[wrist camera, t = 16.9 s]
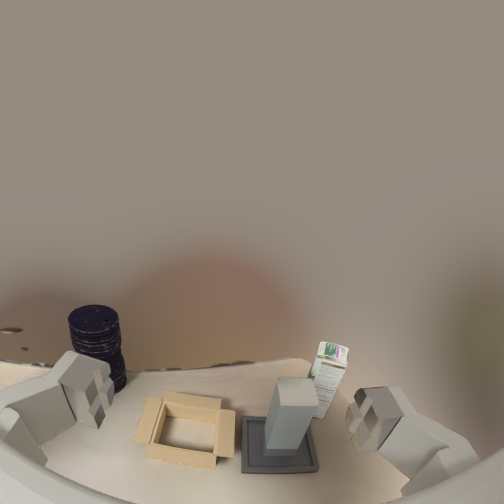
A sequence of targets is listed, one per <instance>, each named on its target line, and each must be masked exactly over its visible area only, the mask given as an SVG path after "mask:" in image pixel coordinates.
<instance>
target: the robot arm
mask: <svg viewBox="0 0 504 504" xmlns="http://www.w3.org/2000/svg"><path fill="white" fill-rule="evenodd" d="M110 373H111V370H110V366H109V364H108V363H107V362H104V361H101V360H98V359H95V358H92V357H89V356H86V355H83V354H79V353H76V352H73V351H71V350H70V351H67V352H66V353H65V354H64V355H63V356H62V357H61V359H60V360H59V361H58V362H57V363H56V364H55V366H54V367H53V368H52V369H51V370H50V371H49V373H48V374H47V375H46V376H45V377H43V376H39V377H37V378H34V379H31V380H28V381H25V382H22V383H19V384H16V385H13V386H10V387H7V388H4V389H1V390H0V504H136V503H132V502H129V501H125V500H122V499H119V498H116V497H113V496H110V495H107V494H105V493H102V492H99V491H97V490H94V489H91V488H89V487H87V486H84V485H82V484H79V483H77V482H75V481H73V480H70V479H68V478H66V477H64V476H62V475H60V474H58V473H56V472H54V471H52V470H50V469H48V468H46V467H45V464H46V462H47V460H48V459H47V456H46V455H45V454H44V452H43V451H42V449H41V448H40V447H39V446H40V445H42V444H43V443H45V442H47V441H48V440H50V439H52V438H53V437H55V436H57V435H58V434H60V433H62V432H63V431H65V430H67V429H68V428H70V427H71V426H73V425H75V424H76V422H78V423H81V424H84V425H87V426H89V427H92V428H95V429H99V427H100V425H101V423H102V421H103V419H104V417H105V413H104V409H106V408H108V407H110V405H111V403H112V401H113V397H114V384H113V381H112V380H111V379H110V377H109V374H110ZM354 398H355V400H356V401H355V402H353V403H352V404H351V405H350V406H349V408H348V410H347V412H346V426H347V429H348V430H349V431H350V432H351V433H353V434H354V435H353V437H352V439H351V440H352V443H353V445H354V448H355V451H356V453H363V452H370V451H376V450H378V452H379V453H380V454H381V455H382V456H383V457H384V458H386V459H387V460H388V461H389V462H390V463H391V464H393V465H394V466H395V467H396V468H397V469H398V470H400V471H401V472H402V473H403V474H404V475H406V476H407V477H408V478H409V479H410V481H409V482H408V483H406V484H405V485H404V486H403V487H402V489H401V493H402V496H403V497H402V498H399V499H395V500H392V501H389V502H386V503H382V504H504V448H502V449H501V450H499V451H497V452H496V453H494V454H493V455H491V456H490V457H488V458H486V459H485V460H483V461H480V459H479V457H478V456H477V454H476V453H475V451H474V450H473V448H472V447H471V445H470V444H469V442H468V440H467V439H466V438H464V437H462V436H460V435H458V434H456V433H455V432H453V431H451V430H449V429H447V428H445V427H443V426H442V425H440V424H438V423H436V422H435V421H433V420H431V419H429V418H427V417H426V416H424V415H422V414H417V413H416V412H415V410H414V408H413V407H412V405H411V404H410V402H409V400H408V399H407V397H406V396H405V394H404V393H403V391H402V390H401V388H400V387H399V386H398V385H391V386H384V387H373V388H360V389H359V390H357V392H356V394H355V395H354Z"/></svg>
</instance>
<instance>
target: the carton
mask: <svg viewBox="0 0 504 504" xmlns="http://www.w3.org/2000/svg"><path fill="white" fill-rule="evenodd" d="M166 416H171V417H176V418H182V419H188V420H194V421H201V422H208V423H216V429H215V440H214V450H213V453H208V452H201V451H194V450H187V449H181V448H176V447H171V446H166V445H161V444H158V442H159V439H160V435H161V432H162V428H163V424H164V421H165V417H166ZM234 438H235V410H226V409H221V399H217V398H209V397H202V396H195V395H189V394H183V393H177V392H171V391H165V394H164V397H163V400H161V399H156V398H152V397H148V400H147V403H146V405H145V408H144V411H143V413H142V416H141V419H140V421H139V424H138V427H137V430H136V432H135V435H134V438H133V440H134V441H137V442H141V443H145V444H149V445H148V448H147V451H146V455H145V457H148V458H152V459H157V460H161V461H166V462H171V463H176V464H182V465H188V466H194V467H201V468H209V469H216V456H221V457H232V458H234Z"/></svg>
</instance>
